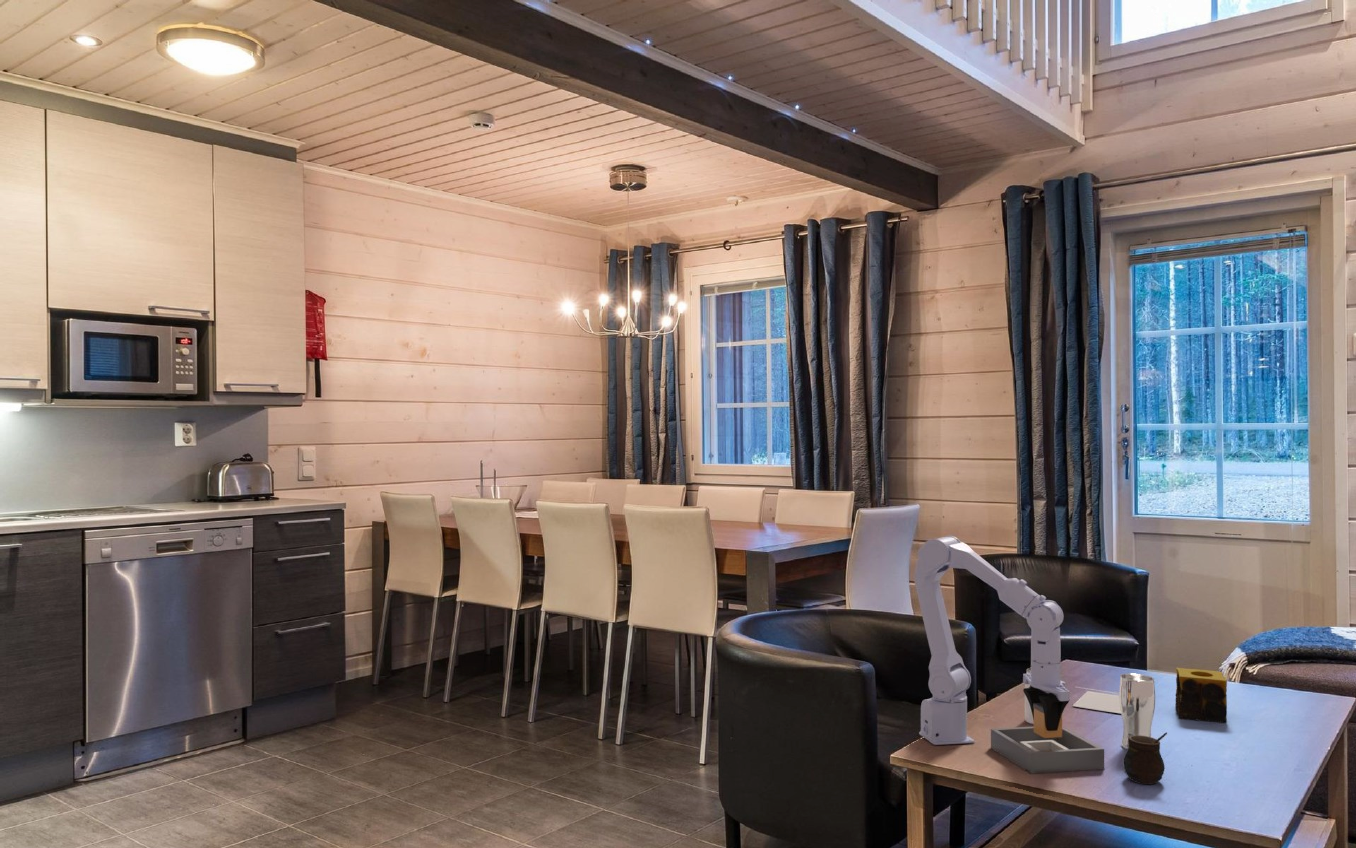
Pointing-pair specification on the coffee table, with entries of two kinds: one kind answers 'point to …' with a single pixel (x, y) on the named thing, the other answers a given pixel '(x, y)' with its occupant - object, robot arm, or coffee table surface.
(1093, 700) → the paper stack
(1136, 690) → the beer glass
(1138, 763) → the mate gourd
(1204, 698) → the candle
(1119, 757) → the coffee table surface
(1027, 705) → the can
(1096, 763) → the box
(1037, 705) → the plug
